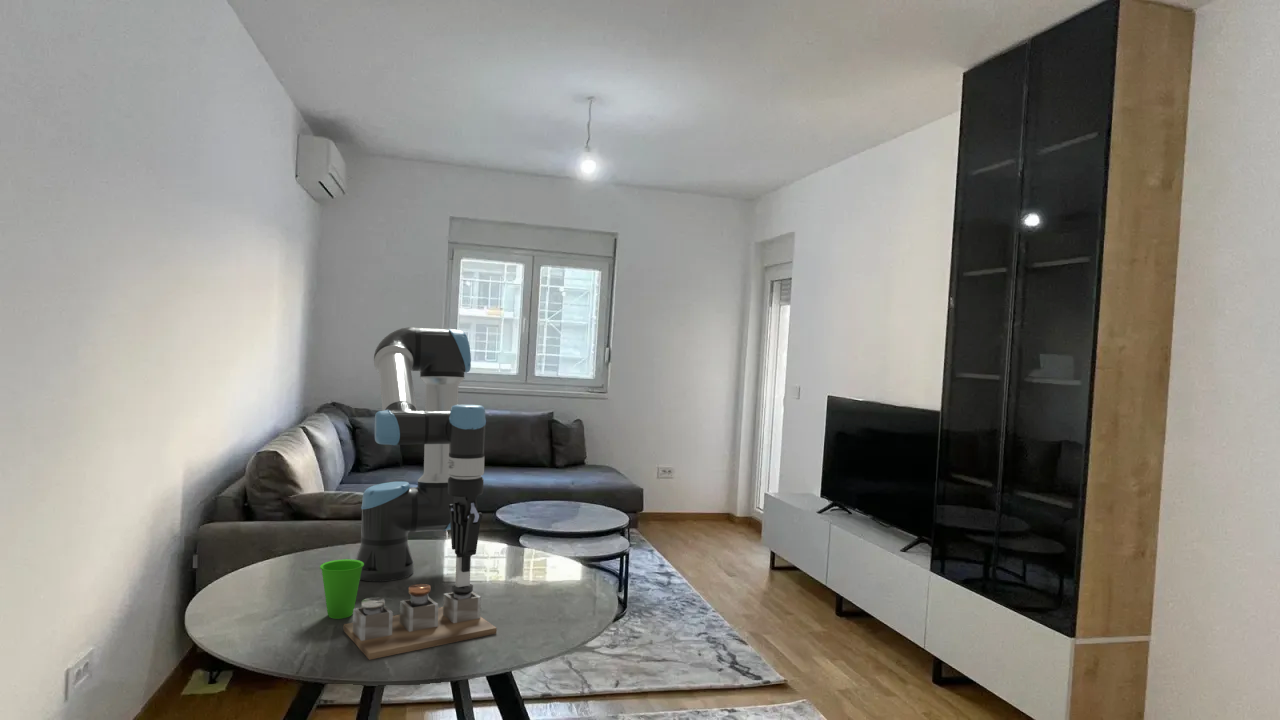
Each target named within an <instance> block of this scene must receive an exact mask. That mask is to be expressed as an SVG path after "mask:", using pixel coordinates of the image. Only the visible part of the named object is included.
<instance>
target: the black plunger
mask: <svg viewBox="0 0 1280 720" xmlns="http://www.w3.org/2000/svg"><path fill="white" fill-rule="evenodd" d="M472 591H473V592H474V585H473V584H471V583H470V586H463V587H457V586H455V584H453V585H451V593H452V592H453V593H454V599H456V600H459V599H465V598H471V592H472Z"/></svg>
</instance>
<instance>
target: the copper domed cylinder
mask: <svg viewBox="0 0 1280 720" xmlns="http://www.w3.org/2000/svg"><path fill="white" fill-rule="evenodd" d="M431 587H432V585H430V584H426V583H416V584H411V585H410V586H409V587H408V594H409V595H410V598H409V599H410V606H411V607H412V608H413V607H419V606H425V605H428V597H429V593H430V592H431Z"/></svg>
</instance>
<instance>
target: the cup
mask: <svg viewBox="0 0 1280 720" xmlns="http://www.w3.org/2000/svg"><path fill="white" fill-rule="evenodd" d="M363 566H364V563H363V562H362V561H359V560H356V559H353V558H352V559H351V558H350V559H349V558H348V559H335V560H330V561H325V562H324V563H322V564H321V565H320V566H319V570H321V574H322V575H321V576H322V583H323V589H324V597H325V603H326V610H327V615H328V617H329V618H331V619H337V620H339V619H346V618H349V617H351V616H353V609H355V607H356V606H355V605H356V600H357V596H358V590H359V586H360V576H361V571H362V567H363Z"/></svg>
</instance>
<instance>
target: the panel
mask: <svg viewBox="0 0 1280 720" xmlns="http://www.w3.org/2000/svg"><path fill="white" fill-rule="evenodd" d="M442 601H443V605H442V606H441V607H439V603H438V602H436V601H434V600H433V599H432V598H431V597H430V596H428V605H425V606H419V607H413V608H412V607H411V606H410V598H409V599H404V600H399V614H396V615H394V614H393V613H394V611H392V610H391V609H390V608H389V607H388V606H386V604H385V605H384V606H383V607H382V613H378V614H372V615H366V616H364V615H363V610H364V608H362V607H361V606H360V607H356V608H355V607H354V609H353V613H352V622H349V623H343V624H342V625H343V627H342V629H343V632H344V633H345V634H346V635H347V636H348V637H349V639H351V641H352V642H353V643H354V644H355V646H356V647H358V649H359V650H360V651H361V652H362V653H363V655H364V656H365V657H366V658H367V659H368V660H370V661H371V660H375V659H379V658H384V657H389V656H394V655H399V654H404V653H408V652H414V651H417V650H419V651H420V650H423V649H428V648H432V647H437V646H443V645H448V644H453V643H457V642H462V641H466V640H472V639H476V638H482V637H486V636H490V635H491V636H492V635H496V634H497V632H498V631H497V630H498V629H497V627H496V626H495V625H493V624H492V623H491V622H489V621H488V620H486V619H485V618H483V617H482V616H481V614H482V613H481V611H482V609H481V606H482V596H481V595H479V594H477V593H476V592H474V590H473V591H472V592H471V598H465V599H459V600H456V599H454V593H453V592H452V591H451V592H446V593H443V600H442Z"/></svg>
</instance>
